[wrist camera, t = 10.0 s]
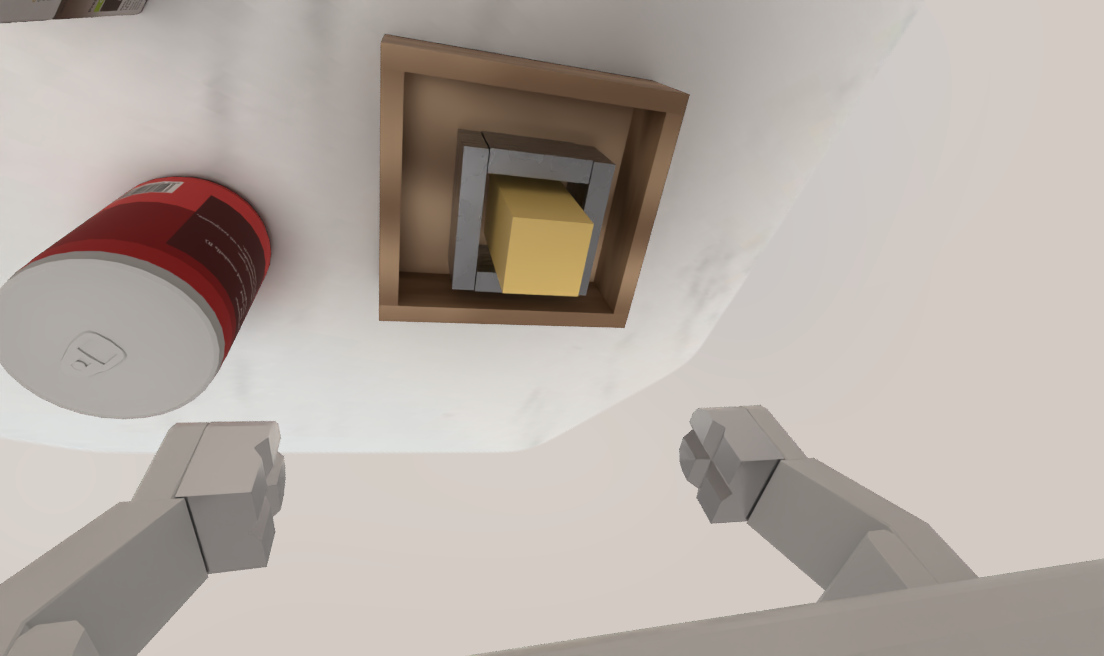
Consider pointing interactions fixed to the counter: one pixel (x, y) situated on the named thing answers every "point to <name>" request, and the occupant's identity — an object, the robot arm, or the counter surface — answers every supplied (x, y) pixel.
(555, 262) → the plug
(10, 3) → the coffee box
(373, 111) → the counter surface
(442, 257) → the walled box
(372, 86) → the counter surface
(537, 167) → the socket
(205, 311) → the canned food
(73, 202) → the counter surface
